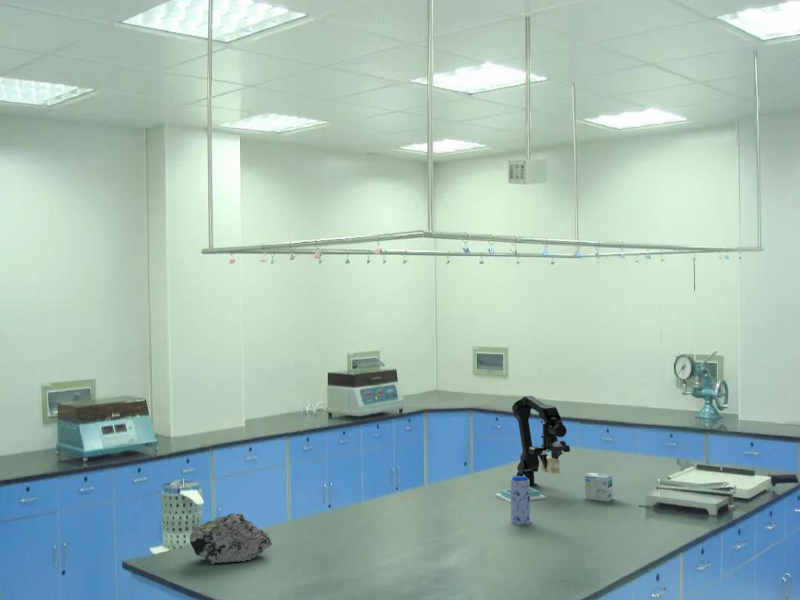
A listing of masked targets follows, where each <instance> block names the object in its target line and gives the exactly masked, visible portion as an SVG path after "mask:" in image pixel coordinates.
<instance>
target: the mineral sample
mask: <svg viewBox="0 0 800 600" xmlns="http://www.w3.org/2000/svg"><path fill="white" fill-rule="evenodd" d="M268 535H270V533H269V532H268V531H267V532H266V531H264V530H263V529H260V528H259V527H257V526H256V525H254V524H253V522H251V521H248V520H246V519H245V517H244V514H243V513H229V514H227V515H226V516H219V517H216V518H214V520H208V521H206V522H205V523H204V524H200V525H196V526H195V527H194V529H193V530H192V532H191V533H190V536H189V539H190V546H191V547H192V549H193V551H194V554H195V555H196V556H199V557H202V558H204V559H205V560H206V561H208V564H209V563H210V564H209V565H212V564H213V563H220V564H223V563H222V562H224V563H234V562H240V561H242V562H247V561H246V560H249V561H250V560H253V559H255V558H257V557H258V555H260V554H262V553H263V552H264V551H266V550H267V549H268V548H269V547H271V546H272V545H273V543H272V540H271V537H268ZM252 558H253V559H252ZM213 565H214V564H213Z"/></svg>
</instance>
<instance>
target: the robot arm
mask: <svg viewBox="0 0 800 600" xmlns="http://www.w3.org/2000/svg"><path fill="white" fill-rule="evenodd" d="M532 409H533V410H534V411H535V412H537V413H538V417H540V419H541V420H540V424H542V435H541V439H542V444H541V446H540V447H539V446H536V445H535V446H533V441H532V435H531V427H530V422H529V420H530V416H531V414H532ZM511 411H512V412H513V416H514V418H515V419H516V420H517V422H518V427H519V428H518V429H519V435H520V441H521V448H522V449H521V450H522V452H521V455H520V457H519V458H520V462H519V463H518V465H517V467H516V469H517V472H519V471H522V472H523V475H525V476H526V477H527V478H528V479H529V482H530V487H531V486H537V485H538V483H536V482H535V472H539V468H540V459H541V461H542V464H543V466H544V468H545V469H546V468H547V460H546V457H547V456H548V454H547V452H551V456H550V457H551V458H555V459H558V460H559V458H560V456H561V455H564V453H568V452H569V453H571V447H570V445H568V444H567V442H566V441H565V440H561V441H558V438H564V437H565V436H566V434H567V431H568V430H567V427H566V426H565V425H564V424H563V421H562V417H561V415H560V413H559V410H558V409H557V407H556V406H555V405H550V404H545V403H543V402H542V401H540V400H539V399H537V398H535V396H533V395H524V396H523V397H522V398H521V399H519V400H516V402H514V403H513V405H512V408H511ZM563 452H564V453H563Z"/></svg>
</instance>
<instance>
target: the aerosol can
mask: <svg viewBox="0 0 800 600" xmlns="http://www.w3.org/2000/svg"><path fill="white" fill-rule="evenodd" d="M530 487H531V486H530V482H529V479H528V478H527V477H526V476H525V475H523V472H522V471H519V472H518V471H517V472H516V475H513V476H512V477H511V479H510V489H511V503H510V517H511V518H510V523H511V524H514V525H521V526H522V525H529V524H531V505H530V504H531V500H530Z"/></svg>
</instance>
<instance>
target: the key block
mask: <svg viewBox="0 0 800 600" xmlns="http://www.w3.org/2000/svg"><path fill="white" fill-rule="evenodd" d="M546 460H547V468H546V469H545V468H544V466H543V464H542V461H541V459H540V458H539V468H540V469H539V470H540V471H542V472H544V473H548V474H551V475H557V474H560V459H559V458H558V459H555V458H552V456H549V455H547V457H546Z"/></svg>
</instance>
